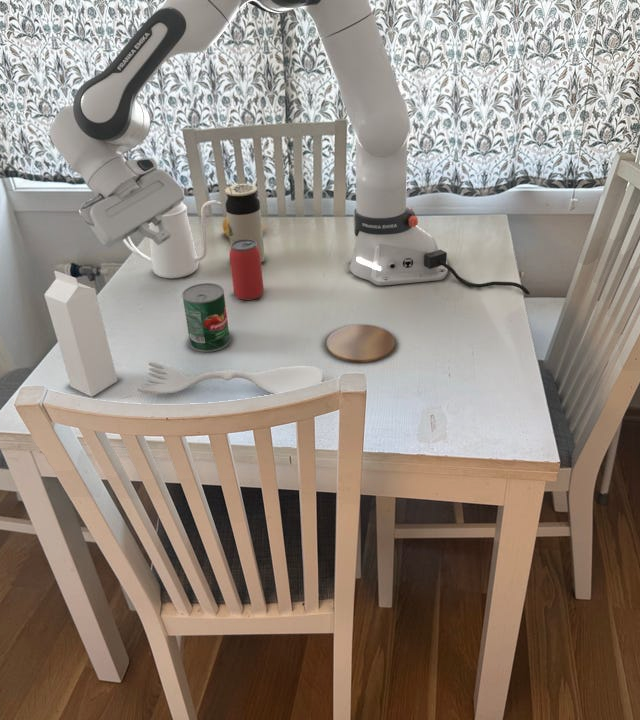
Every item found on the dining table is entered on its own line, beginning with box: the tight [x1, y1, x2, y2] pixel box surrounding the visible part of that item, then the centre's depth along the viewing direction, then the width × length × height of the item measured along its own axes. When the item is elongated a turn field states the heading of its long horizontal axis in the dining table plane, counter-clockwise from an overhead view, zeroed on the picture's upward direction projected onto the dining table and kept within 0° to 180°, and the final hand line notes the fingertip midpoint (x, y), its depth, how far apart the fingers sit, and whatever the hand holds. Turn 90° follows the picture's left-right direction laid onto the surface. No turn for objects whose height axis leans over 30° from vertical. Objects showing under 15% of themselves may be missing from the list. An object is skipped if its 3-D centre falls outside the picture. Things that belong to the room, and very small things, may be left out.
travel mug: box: [224, 183, 266, 263], centre depth 161 cm, size 8×8×18 cm
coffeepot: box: [122, 199, 222, 279], centre depth 158 cm, size 11×25×19 cm, turn 84°
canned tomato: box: [181, 282, 231, 353], centre depth 131 cm, size 8×8×11 cm
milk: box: [43, 270, 118, 398], centre depth 117 cm, size 6×6×22 cm
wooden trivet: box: [326, 324, 396, 364], centre depth 130 cm, size 13×13×1 cm
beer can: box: [229, 239, 265, 301], centre depth 147 cm, size 7×7×12 cm
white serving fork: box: [136, 361, 325, 395], centre depth 119 cm, size 9×32×4 cm, turn 86°
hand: (164, 240), depth 130 cm, fingers closed
